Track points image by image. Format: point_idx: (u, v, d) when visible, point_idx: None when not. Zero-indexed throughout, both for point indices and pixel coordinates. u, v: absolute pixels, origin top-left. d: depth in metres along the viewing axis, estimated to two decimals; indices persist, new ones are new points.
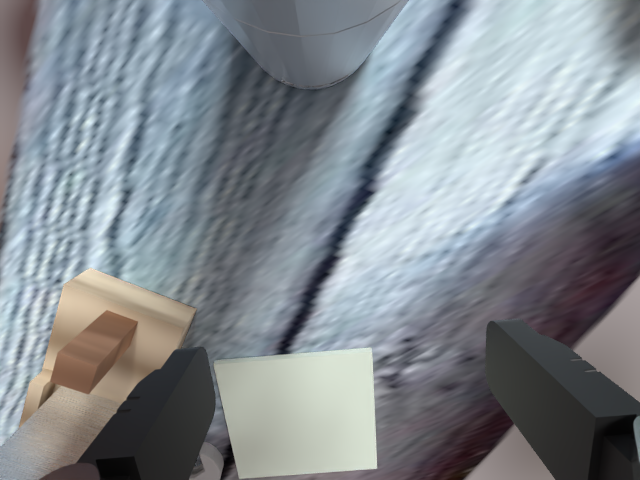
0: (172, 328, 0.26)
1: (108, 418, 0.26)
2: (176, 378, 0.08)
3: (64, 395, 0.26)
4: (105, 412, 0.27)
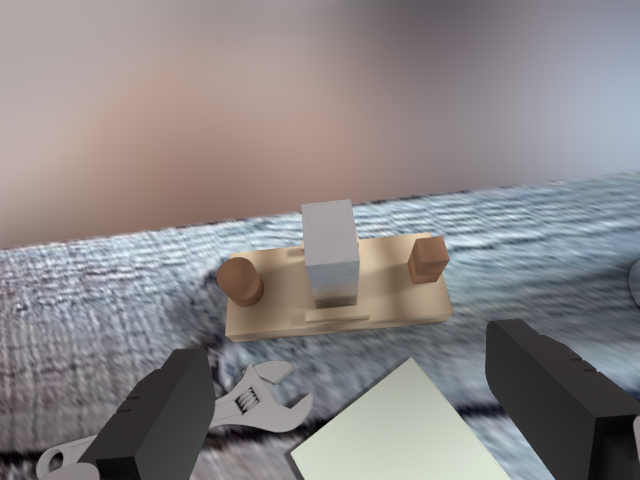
0: (447, 305, 0.32)
1: None
2: (176, 378, 0.08)
3: None
4: None
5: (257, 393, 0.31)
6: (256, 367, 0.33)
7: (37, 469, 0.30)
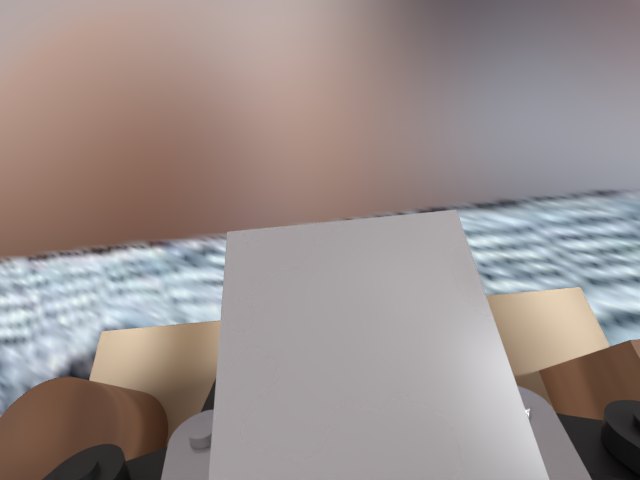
0: None
1: None
2: None
3: None
4: None
5: None
6: None
7: None
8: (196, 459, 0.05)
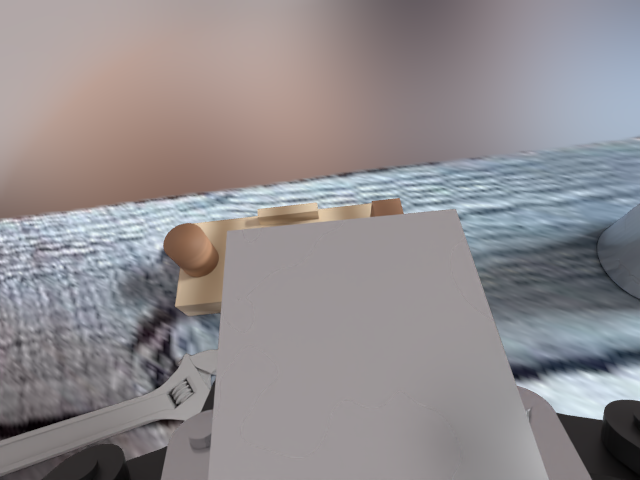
0: None
1: None
2: None
3: None
4: None
5: (192, 385, 0.29)
6: (192, 357, 0.30)
7: None
8: (196, 459, 0.05)
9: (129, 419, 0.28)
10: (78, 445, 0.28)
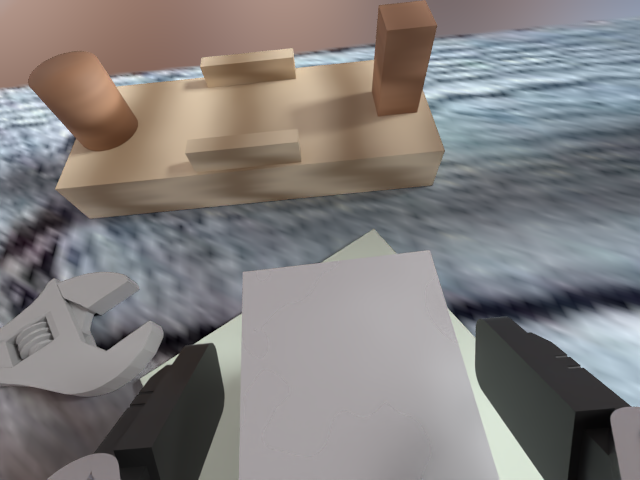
0: (435, 141, 0.19)
1: None
2: (188, 373, 0.08)
3: None
4: None
5: (52, 327, 0.17)
6: (62, 284, 0.18)
7: None
8: None
9: None
10: None
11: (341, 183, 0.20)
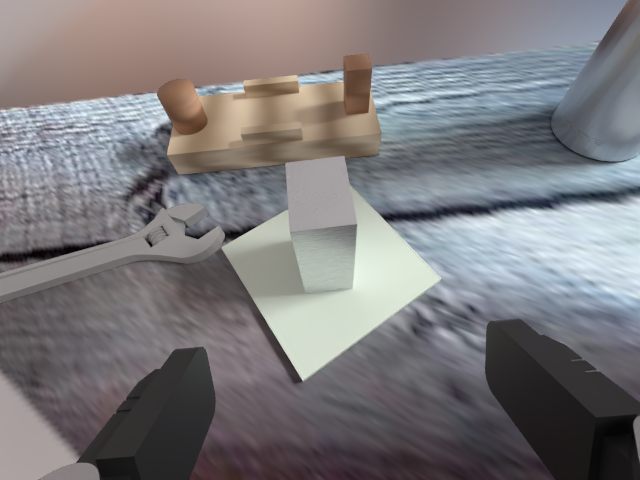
0: (376, 128, 0.34)
1: None
2: (176, 378, 0.08)
3: None
4: None
5: (167, 230, 0.32)
6: (168, 210, 0.33)
7: None
8: None
9: (109, 256, 0.31)
10: (61, 277, 0.30)
11: (325, 153, 0.36)
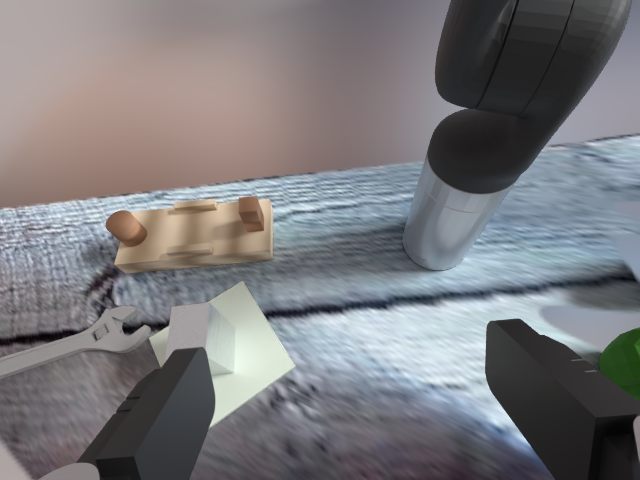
0: (267, 245, 0.47)
1: (231, 363, 0.40)
2: (176, 378, 0.08)
3: (233, 332, 0.43)
4: (232, 359, 0.41)
5: (108, 327, 0.45)
6: (110, 311, 0.46)
7: None
8: None
9: (65, 349, 0.44)
10: (31, 365, 0.43)
11: (232, 260, 0.49)
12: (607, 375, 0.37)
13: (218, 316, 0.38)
